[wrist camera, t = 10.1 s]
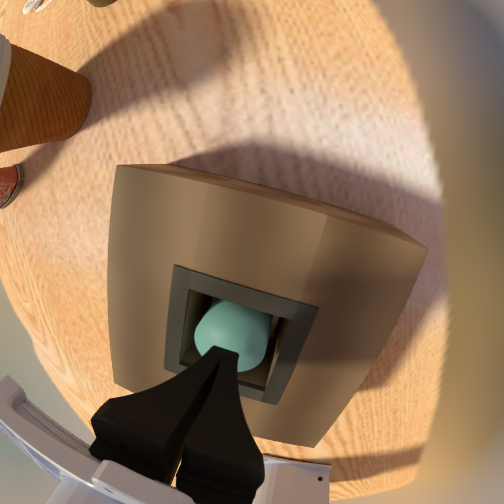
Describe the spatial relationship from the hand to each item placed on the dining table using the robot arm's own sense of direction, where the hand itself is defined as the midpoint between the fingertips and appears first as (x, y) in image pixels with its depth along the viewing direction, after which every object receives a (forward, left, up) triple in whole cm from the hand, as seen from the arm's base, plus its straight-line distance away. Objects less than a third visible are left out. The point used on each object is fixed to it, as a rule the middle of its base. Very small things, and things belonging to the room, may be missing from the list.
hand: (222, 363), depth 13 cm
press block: (0, 0, -7) cm, 7 cm away
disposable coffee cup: (+20, -12, -8) cm, 25 cm away
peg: (0, 0, -7) cm, 7 cm away
